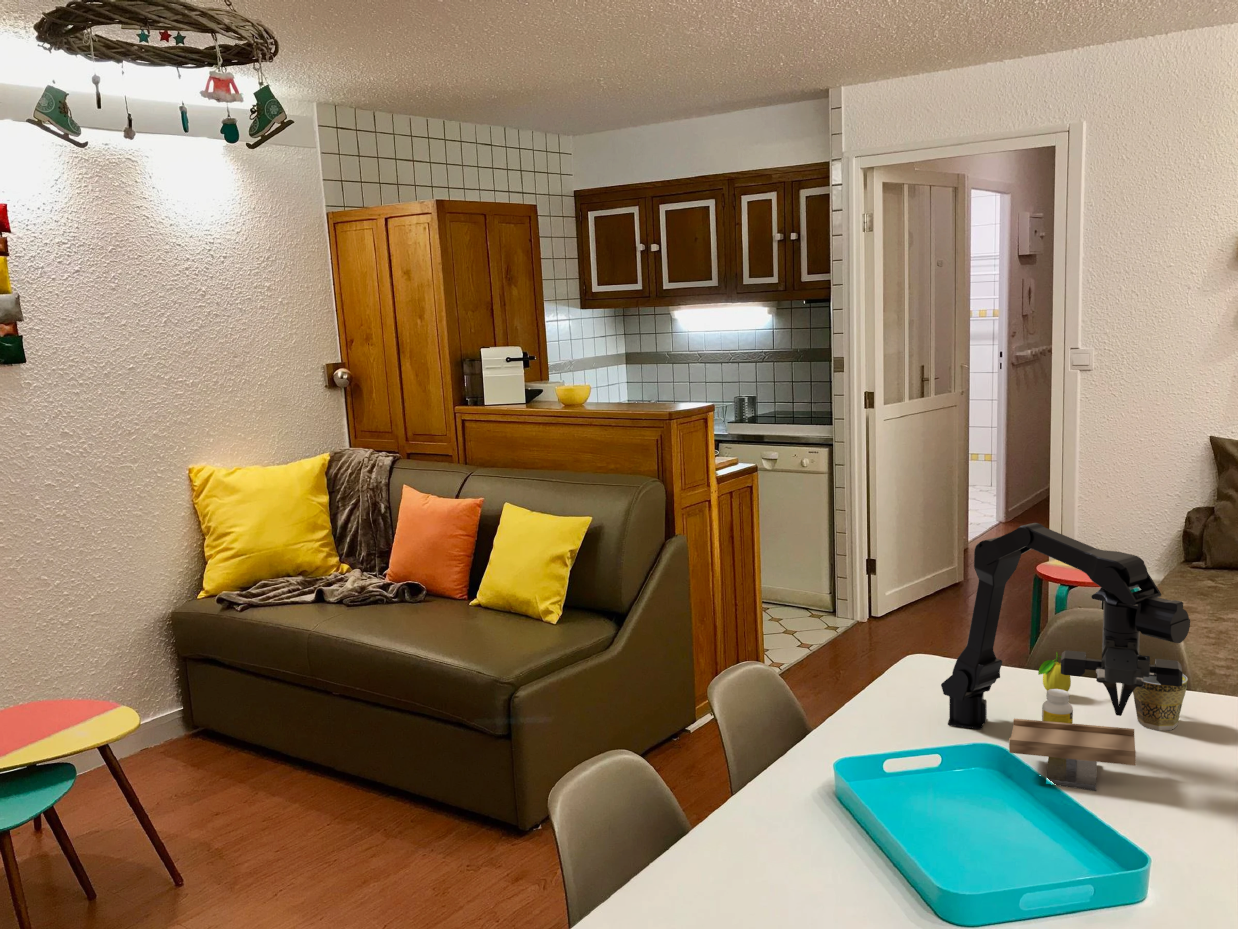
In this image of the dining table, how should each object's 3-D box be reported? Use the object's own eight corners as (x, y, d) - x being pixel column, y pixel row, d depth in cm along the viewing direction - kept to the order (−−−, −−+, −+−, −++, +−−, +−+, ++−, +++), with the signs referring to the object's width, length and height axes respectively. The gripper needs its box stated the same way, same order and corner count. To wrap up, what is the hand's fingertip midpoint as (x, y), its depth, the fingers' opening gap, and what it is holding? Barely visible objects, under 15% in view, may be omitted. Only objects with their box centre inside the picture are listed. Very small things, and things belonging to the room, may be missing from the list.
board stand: (1045, 784, 179) (1045, 759, 179) (1048, 758, 189) (1049, 735, 188) (1095, 791, 176) (1096, 766, 175) (1096, 764, 186) (1097, 741, 185)
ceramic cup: (1196, 733, 197) (1198, 683, 195) (1144, 735, 197) (1145, 685, 195) (1162, 708, 209) (1163, 661, 208) (1113, 709, 210) (1114, 663, 208)
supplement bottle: (1075, 747, 193) (1076, 698, 192) (1044, 746, 194) (1045, 697, 193) (1068, 736, 198) (1069, 687, 197) (1039, 735, 199) (1039, 687, 198)
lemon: (1076, 694, 219) (1076, 649, 217) (1071, 703, 214) (1072, 657, 212) (1042, 689, 222) (1043, 645, 221) (1037, 698, 217) (1038, 653, 216)
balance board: (1009, 752, 182) (1009, 739, 181) (1014, 731, 191) (1013, 718, 190) (1135, 765, 173) (1135, 751, 173) (1134, 742, 182) (1134, 729, 182)
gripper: (1060, 637, 173) (1058, 725, 175) (1186, 648, 165) (1182, 740, 167) (1062, 618, 183) (1061, 702, 185) (1181, 628, 175) (1178, 715, 177)
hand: (1118, 714), depth 178 cm, fingers closed
